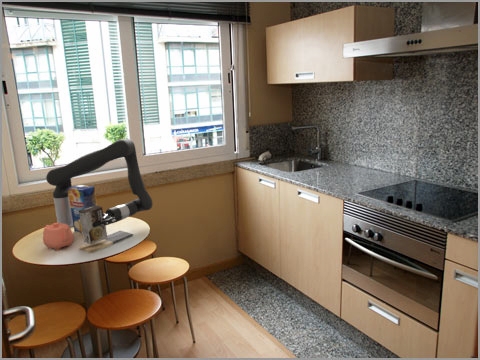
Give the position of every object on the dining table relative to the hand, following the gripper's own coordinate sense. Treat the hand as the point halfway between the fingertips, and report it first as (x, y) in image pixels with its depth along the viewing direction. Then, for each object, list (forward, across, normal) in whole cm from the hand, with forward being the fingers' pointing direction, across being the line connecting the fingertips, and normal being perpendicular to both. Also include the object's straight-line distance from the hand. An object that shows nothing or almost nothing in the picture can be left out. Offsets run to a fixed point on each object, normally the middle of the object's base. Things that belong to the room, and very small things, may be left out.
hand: (88, 224), depth 184 cm
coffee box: (-2, 0, +9) cm, 9 cm away
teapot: (+7, -16, +12) cm, 21 cm away
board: (-8, 0, +12) cm, 15 cm away
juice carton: (-13, -24, +12) cm, 30 cm away
